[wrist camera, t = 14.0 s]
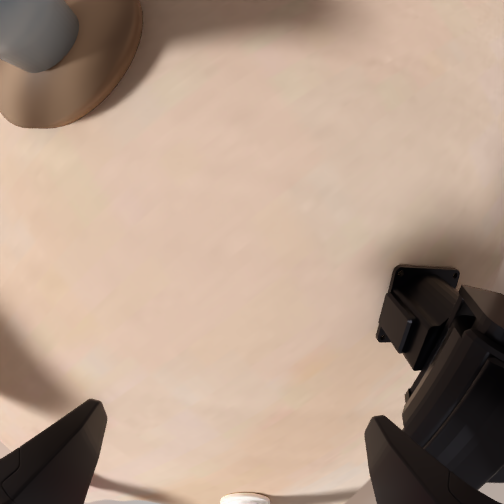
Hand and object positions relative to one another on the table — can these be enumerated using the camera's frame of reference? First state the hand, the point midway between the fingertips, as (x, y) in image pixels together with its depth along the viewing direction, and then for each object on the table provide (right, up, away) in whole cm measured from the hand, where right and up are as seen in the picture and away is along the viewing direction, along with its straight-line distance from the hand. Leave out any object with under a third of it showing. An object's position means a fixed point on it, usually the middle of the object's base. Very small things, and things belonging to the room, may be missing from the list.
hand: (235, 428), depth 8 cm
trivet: (-13, +21, +7) cm, 26 cm away
